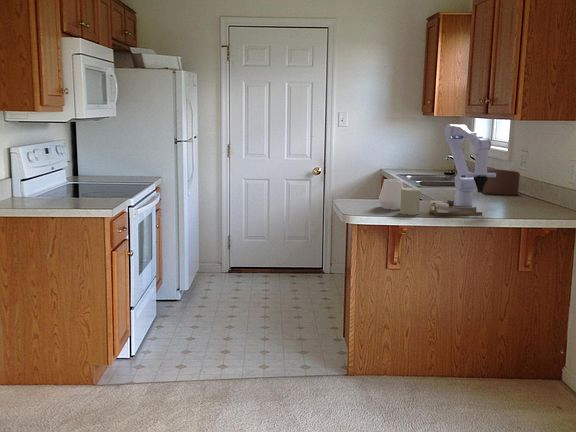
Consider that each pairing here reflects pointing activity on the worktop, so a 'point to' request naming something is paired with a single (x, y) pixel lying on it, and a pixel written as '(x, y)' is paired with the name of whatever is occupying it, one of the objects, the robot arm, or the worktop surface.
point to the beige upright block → (410, 201)
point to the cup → (391, 194)
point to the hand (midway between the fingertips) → (479, 192)
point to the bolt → (450, 202)
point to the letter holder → (502, 183)
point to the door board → (453, 209)
